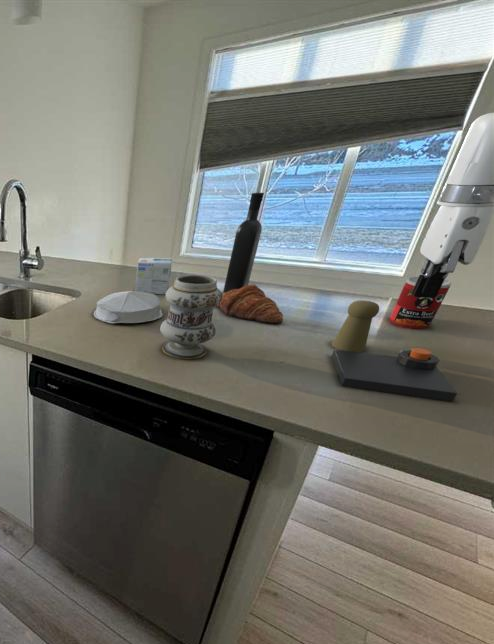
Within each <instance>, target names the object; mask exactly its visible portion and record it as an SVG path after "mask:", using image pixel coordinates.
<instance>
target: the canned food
mask: <svg viewBox="0 0 494 644" xmlns="http://www.w3.org/2000/svg"><path fill="white" fill-rule="evenodd" d="M418 278H419V276H410V277H408V278H407V279H406V280H405V283H404V284H403V286H402V289H401V291H400V293H399V296H398V298H397V301H396V303H395V305H394V307H393V309H392V312H391V314H390V316H389V322H390V323H391V324H393V325H394V326H398V327H402V328H407V329H415V330H416V329H419V330H420V329H426V328H428V327H430V325H431V324H432V323H433V321H434V319H435V317H436V315H437V313H438V311H439V310H440V307H441V305H442V303H443V302H444V300H445V297H446V295H447V293H448V292H449V289H450V287H451V284H452V282H451V281H449V280H447V279H445V280H444V282H443V284H442V286H441V288H440V290H439V292H438V294H437V296H436V297H435V298H423V297H414V296H413V295H412V291H413V289H414V286H415V284H416V282H417V280H418Z"/></svg>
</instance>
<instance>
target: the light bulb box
mask: <svg viewBox="0 0 494 644" xmlns="http://www.w3.org/2000/svg"><path fill="white" fill-rule="evenodd" d="M172 266H173V257H166V258H165V257H140V258H139V259H138V261H137V265H136V274H135V275H136V276H135V283H134V291H137V292H145V293H150V294H154V295H166V292H167V290H168V289H169V288H170V287H169V286H170V279H171V271H172Z"/></svg>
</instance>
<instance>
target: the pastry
mask: <svg viewBox="0 0 494 644" xmlns="http://www.w3.org/2000/svg"><path fill="white" fill-rule="evenodd" d="M221 293H222V300H221V302H220V303H219V304H218V305H216V306H215V307H216V308H218V309H220V310H221V311H222V312H223V313H225V315H226V316H230V317H235V318H238V319H242V320H248V321H256V322H259V323H264V324H271V325H272V324H274V325H275V324H282V323H283V321H284V313H282V311H281V310H280V309H279V307H278V305H277V303H276V302H275V301H274V300H273V299H272V298H270V297H268V296H266V293H265V292H264V291H263V289H261V288H260V287H258V286H257V285H256V284H248V286H244V287H242V288H240V289H233V290H230V291H228V292H226V293H224V292H223V291H221Z"/></svg>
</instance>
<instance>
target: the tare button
mask: <svg viewBox="0 0 494 644" xmlns="http://www.w3.org/2000/svg"><path fill="white" fill-rule="evenodd" d="M411 350H412V351H411V353H410V355H409V356H410V357H412V358H415V359H419V360H428V359H429V357H430V355H431V354H432V351H431V350H429V349H426V348H420V347H415V348H412V349H411Z"/></svg>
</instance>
